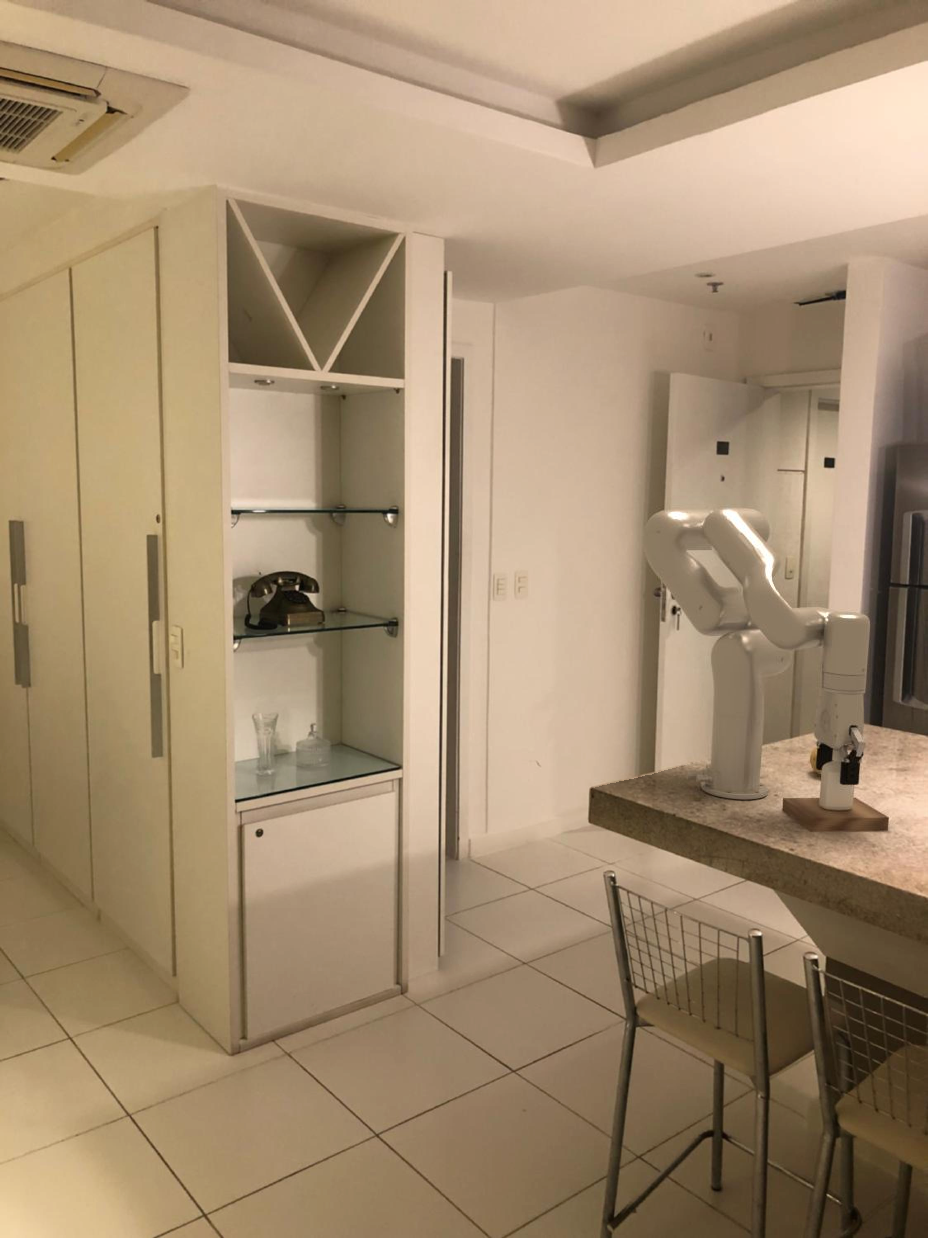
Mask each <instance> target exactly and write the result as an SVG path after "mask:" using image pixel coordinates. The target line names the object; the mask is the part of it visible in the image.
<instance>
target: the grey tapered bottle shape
mask: <svg viewBox="0 0 928 1238" xmlns="http://www.w3.org/2000/svg"><path fill="white" fill-rule="evenodd" d="M832 760H833V761H831V762H828V763H826V764H824V765H823V767H822V774H821V775H820V776H821V777H820V787H819V788H820V789H819V798H820V799H819V805H820V806H821V807H822V808H824V809H827V810H850V809H852V808H853V798H854V797H855V785H842V784H840V771H841V762H844V760H843V756H842V752H841V749H840V747H839V749H833V756H832Z"/></svg>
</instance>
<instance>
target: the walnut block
mask: <svg viewBox="0 0 928 1238" xmlns="http://www.w3.org/2000/svg"><path fill="white" fill-rule="evenodd" d="M819 799H820V797H783V798H782V806H781V807H782V808H781V809H782V811H783V812H784V813H785V814H787V815H788V816H789V817H791V818H792V819H794V820H795V821H796V822H797V823H799V824H801V825H802V826H803V827H805V828H806V829H807V830H809V831H810V832H849V831H850V832H853V831H854V832H855V831H856V832H857V831H858V832H859V831H861V832H863V831H865V832H866V831H867V832H868V831H870V832H871V831H874V832H875V831H876V832H877V831H889V821H890V820H889V819H890V817H889V816H888V815H885V814H884V813H882V812H881V811H879V810H877V809H876V808H874V807H872V806H871V805H869V804H867V803H865V802H864V801H862V800H861V799H858V798H857V797H855V796H854V798H853V808H852V809H850V810H827V809H824V808H822V807H821V806H820V805H819Z"/></svg>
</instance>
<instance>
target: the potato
mask: <svg viewBox="0 0 928 1238" xmlns="http://www.w3.org/2000/svg"><path fill="white" fill-rule="evenodd" d="M817 748H818V747H817V746H816V747H815V748H814V749H813V750H812V752H811V753H810V756H809V763H810V766H811V769H813V770H814V771H815V772H816V773H817V774H818V775H820V776H821V774H822V770H818V769H816V758H817Z"/></svg>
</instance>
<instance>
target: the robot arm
mask: <svg viewBox="0 0 928 1238" xmlns="http://www.w3.org/2000/svg"><path fill="white" fill-rule="evenodd" d="M770 529H771V528H770V524H769V521H768V520H767V518H766V517H765V515H763V513H762V512H760V511H758V510H757V509H753V508H749V507H748V508H747V507H745V508H744V507H743V508H742V507H721V508H719V509H708V508H702V509H701V508H668V509H664V510H661V511H658V512H656V513H655V514H653V515H651V517H650V518H649V519H648V521H647V522H646V524H645V526H644V530H643V535H642V545H643V552H644V555H645V558H646V561H647V563H648V564H649V567H650V568H651V569H652V571H653V572H654V574H655V575H656V576H657V577H658V578H659V580H660V581H661V582H662V583H663V584H664V586H665V587H666V588H667V590H668V591H669V592H670V594H671V596H672V597H673V599H674V600H675V602H676V603H677V605H678V606H679V607H680V609H681V610H682V612H683V613H684V615H685V616H686V618H687V619H688V620H689V622H690V624H691V625H692V626H693V628H694V629H695V630H696V631H697V632H698V633H700V634H701V635H704V636H708V637H719V636H720V637H719V638H718V639H717V640H716V641H715V642H714V644H713V646H712V649H711V654H710V663H711V670H712V671H711V672H712V678H713V706H712V709H713V710H712V713H713V714H712V717H713V718H712V727H711V728H712V730H711V731H712V732H711V750H710V751H711V752H710V764H705V768H701V770H696V769H686V770H685V774H684V776H685V780H687V781H695V782H696V783H701V784H700V788H701V789H702V791H704V792H705V793H708V794H710V795H712V796H715V797H719V798H720V797H721V798H723V799H724V798H726V799H733V800H756V799H757V800H758V799H761V798H762V799H763V798H764V797H766V796H767V795H768V789H769V788H768V786H767V785H765V784H763V783H762V782H761V770H762V767H761V766H762V753H763V738H764V737H763V735H764V718H765V697H764V694H763V689H762V686H761V683H760V678H766V677H772V676H777V675H779V674H782V673H783V672H785V671H786V670H787V669H788V668H789V667H790V666H791V663H792V660H793V654H794V653H793V652H794V651H800V650H807V649H808V650H810V649H818V648H819V649H820V648H822V655H821V668H820V669H821V672H820V682H819V683H820V686H819V689H820V690H819V692H818V698H817V704H816V709H815V710H816V711H815V717H814V727H813V735H814V738H815V739H816V743H815V744H816V747H818V748H817V758H816V769H818V770H822V767H823V765H824V764H826V763H828V762H831V761H833V760H832V756H833V749H839V747H840V749H841V752H842V756H843V760H844V762H841V771H840V784H842V785H854V786H857V785H859V784H860V772H861V769H860V768H861V763H862V762H863V760H862V759H863V757H864V756H865V755H864V752H865V749H866V745H867V743H866V740H865V739H864V729H865V728H864V726H865V724H864V723H865V719H864V718H865V716H864V715H865V713H864V712H865V709H864V694H865V693H866V689H867V688H866V687H867V675H868V671H867V670H868V658H869V644H870V632H871V631H870V630H871V622H870V618H869V616H867V615H866V614H865V613H864V614H863V613H859V612H852V611H837V610H833V609H830V608H826V607H821V606H809V607H805V606H804V607H794V608H793V607H792V606H791V605H790V604H789V603H788V602H787V601H786V600H785V598H783V596H782V595H781V594H780V592H779V591H778V590H777V588H776V586H775V584H774V581H773V578H774V577H776V575H777V573H778V572H779V570H780V568H781V559H780V557H779V555H778V554H777V553H776V552H775V551H774V550H773V548H771V546H770V545H769V544H768V543H767V542H768V540H769V537H770V534H771V532H770V531H771V530H770ZM689 551H713V552H714V553H715V555H716V556H717V557H718V558H719V559H720V561H721V562H722V563H723V564H724V565H725V566H726V568H727V569H728V570H729V571H730V573H731V574H732V575H733V576H734V577H735V579H736V580H737V581H738V583H739V584H740V585H741V587H739V586H738V587H735V586H733V587H724V586H721V585H719V583H718V582H717V581H716V580H715V579H714V578H713V577H712V576H711V574H710V572H709V571H708V569H707V568H706V567H705V566H704V564H702V562H700V561H699V560H697V559H696V558H695V557H693V555H691V554H690V553H689ZM849 751H850V752H849Z"/></svg>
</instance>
